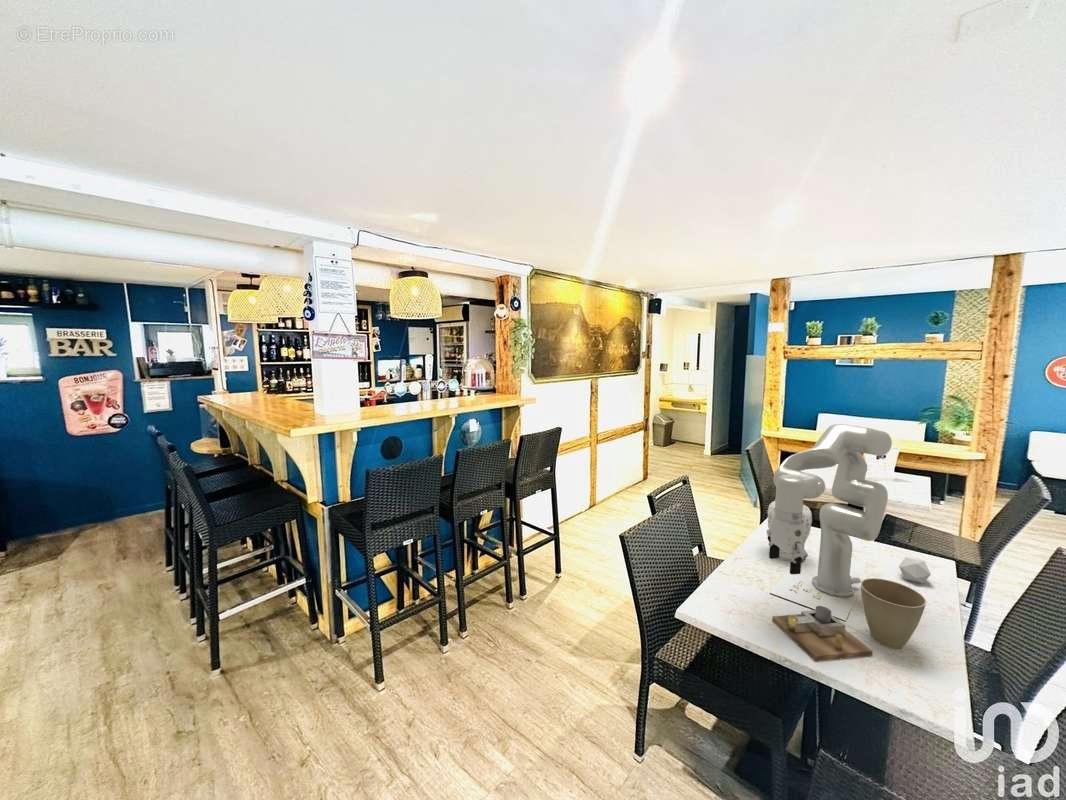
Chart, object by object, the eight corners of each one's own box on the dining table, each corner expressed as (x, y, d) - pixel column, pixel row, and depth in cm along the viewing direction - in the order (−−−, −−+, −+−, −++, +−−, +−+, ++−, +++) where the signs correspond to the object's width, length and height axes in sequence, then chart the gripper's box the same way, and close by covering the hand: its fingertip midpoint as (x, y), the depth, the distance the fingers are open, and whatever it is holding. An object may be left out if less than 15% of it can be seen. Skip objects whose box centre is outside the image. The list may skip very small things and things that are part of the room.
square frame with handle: (823, 617, 136) (824, 607, 135) (844, 634, 128) (845, 623, 127) (779, 621, 134) (780, 611, 134) (798, 638, 126) (799, 627, 126)
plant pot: (849, 620, 137) (854, 574, 135) (907, 631, 132) (912, 584, 130) (865, 650, 124) (870, 599, 122) (930, 664, 118) (936, 611, 116)
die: (919, 590, 155) (940, 570, 154) (893, 570, 161) (913, 551, 159) (915, 588, 162) (935, 569, 161) (890, 569, 167) (909, 551, 166)
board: (822, 616, 139) (824, 595, 138) (872, 655, 121) (874, 631, 121) (772, 620, 137) (773, 599, 136) (815, 661, 119) (817, 636, 118)
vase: (818, 565, 172) (825, 482, 168) (779, 566, 171) (786, 482, 167) (791, 546, 188) (797, 470, 184) (756, 547, 187) (761, 471, 183)
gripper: (820, 525, 125) (815, 579, 127) (780, 504, 142) (776, 552, 145) (796, 526, 125) (792, 581, 127) (759, 505, 142) (756, 553, 144)
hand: (784, 565), depth 136 cm, fingers open, 9 cm apart
